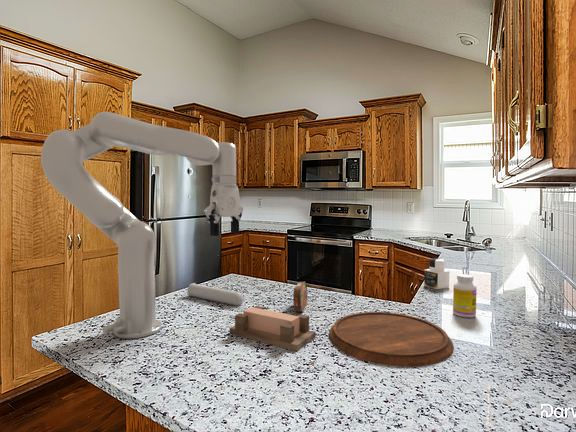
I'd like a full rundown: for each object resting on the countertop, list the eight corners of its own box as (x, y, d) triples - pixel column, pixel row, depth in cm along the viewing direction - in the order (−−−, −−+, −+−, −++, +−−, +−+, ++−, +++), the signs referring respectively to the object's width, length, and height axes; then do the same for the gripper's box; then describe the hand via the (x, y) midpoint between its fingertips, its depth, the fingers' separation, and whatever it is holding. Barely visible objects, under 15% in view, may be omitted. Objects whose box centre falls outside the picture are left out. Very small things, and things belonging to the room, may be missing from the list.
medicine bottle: (423, 285, 148) (424, 258, 148) (435, 283, 151) (436, 257, 151) (437, 289, 142) (437, 260, 141) (449, 287, 145) (450, 259, 144)
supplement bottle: (475, 319, 106) (475, 278, 106) (451, 316, 110) (452, 276, 109) (476, 313, 112) (477, 274, 111) (454, 310, 116) (455, 272, 115)
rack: (297, 351, 85) (297, 329, 85) (229, 333, 97) (229, 314, 96) (315, 337, 94) (315, 317, 93) (251, 322, 105) (251, 304, 105)
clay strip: (291, 338, 89) (291, 321, 89) (243, 326, 98) (243, 310, 97) (299, 333, 93) (299, 316, 92) (252, 322, 101) (252, 307, 101)
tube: (248, 293, 124) (198, 283, 137) (239, 291, 120) (188, 282, 133) (245, 308, 123) (195, 297, 136) (235, 307, 119) (185, 296, 132)
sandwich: (301, 315, 111) (301, 289, 111) (292, 314, 112) (292, 289, 111) (308, 301, 126) (308, 279, 126) (299, 301, 127) (299, 278, 126)
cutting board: (310, 326, 102) (310, 318, 102) (398, 313, 114) (398, 306, 114) (372, 379, 73) (372, 367, 72) (483, 354, 84) (483, 344, 84)
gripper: (214, 180, 102) (215, 237, 102) (250, 182, 116) (250, 232, 117) (196, 180, 105) (197, 236, 106) (233, 183, 120) (233, 231, 121)
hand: (225, 234), depth 112 cm, fingers open, 9 cm apart
